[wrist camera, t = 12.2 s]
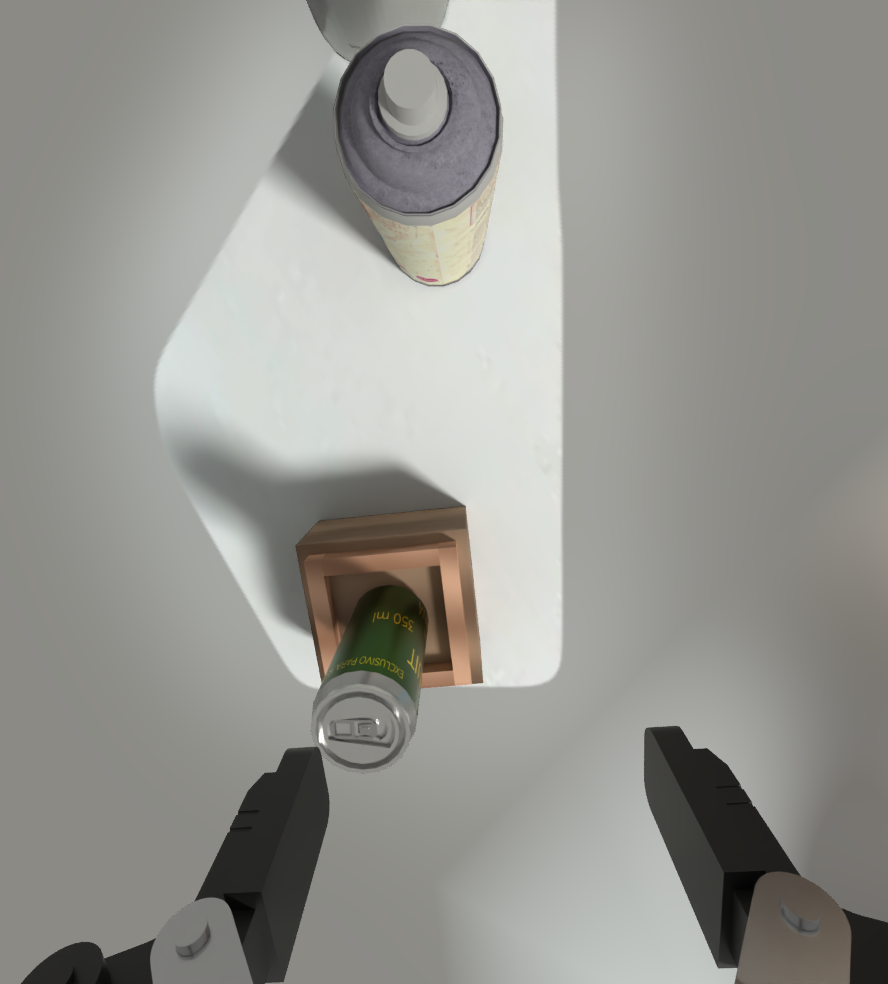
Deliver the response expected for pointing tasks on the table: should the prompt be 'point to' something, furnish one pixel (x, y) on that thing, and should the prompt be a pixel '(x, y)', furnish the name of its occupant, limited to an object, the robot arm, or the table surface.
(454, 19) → the table surface
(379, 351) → the table surface
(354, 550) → the wooden crate
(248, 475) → the table surface
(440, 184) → the aerosol can
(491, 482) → the table surface
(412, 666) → the beer can
